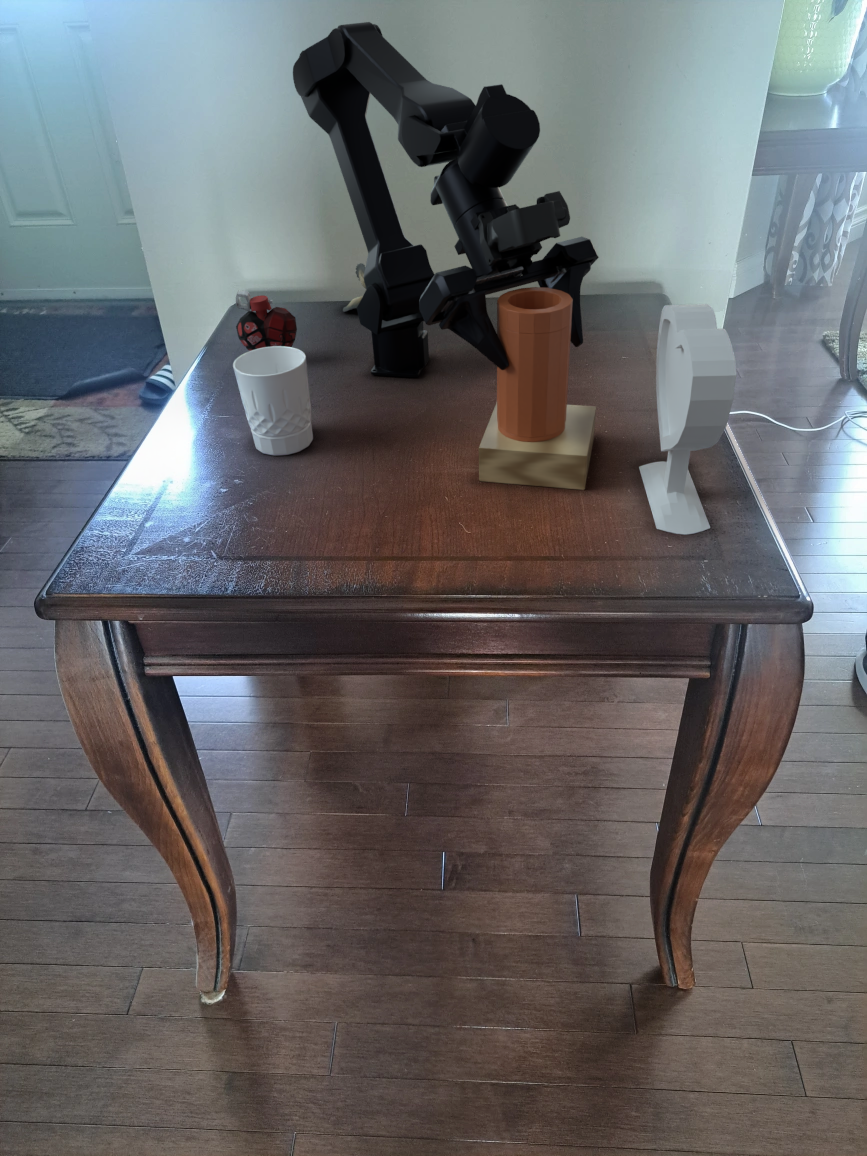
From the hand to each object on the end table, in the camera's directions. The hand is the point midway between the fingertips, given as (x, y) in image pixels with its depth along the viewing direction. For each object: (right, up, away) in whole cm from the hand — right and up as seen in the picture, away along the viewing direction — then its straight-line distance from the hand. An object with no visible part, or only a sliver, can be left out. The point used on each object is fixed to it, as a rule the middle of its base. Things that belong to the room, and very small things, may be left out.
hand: (543, 356), depth 83 cm
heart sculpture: (+13, -14, +1) cm, 19 cm away
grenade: (-33, +7, +32) cm, 46 cm away
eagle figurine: (-21, +19, +46) cm, 54 cm away
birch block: (0, -9, +7) cm, 12 cm away
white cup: (-28, -6, +13) cm, 32 cm away
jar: (-1, -6, +5) cm, 8 cm away
